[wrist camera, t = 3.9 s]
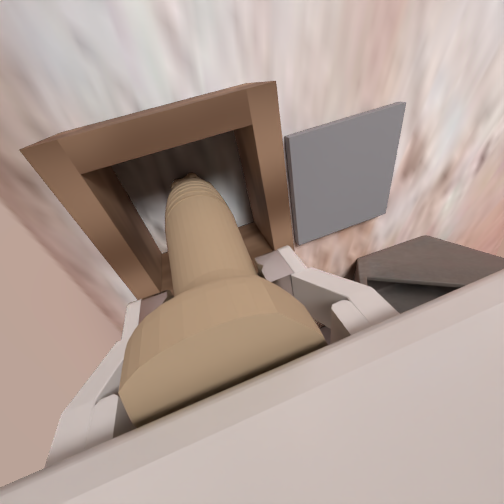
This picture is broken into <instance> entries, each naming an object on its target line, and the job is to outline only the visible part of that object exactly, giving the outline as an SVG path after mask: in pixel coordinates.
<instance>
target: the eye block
mask: <svg viewBox="0 0 504 504" xmlns="http://www.w3.org/2000/svg"><path fill="white" fill-rule="evenodd" d="M232 130H233V131H234V135H235V139H236V144H237V148H238V153H239V157H240V162H241V166H242V170H243V175H244V179H245V184H246V188H247V193H248V197H249V201H250V206H251V210H252V215H253V219H254V222H253V223H250V224H247V225H244V226H241V227H238V229H239V231H240V234H241V236H242V239H243V241H244V244H245V246H246V248H247V251H248V253H249V255H250V258H251V260H252V263H253V265H254V267H255V270H256V272H257V273H258V270H257V268H256V266H255V262H254V258H256V257H258V256H261V255H264V254H266V253H269V252H272V251H275V250H277V249H279V248H282V247H284V246H287V245H288V246H290V247H291V248H292V250H293V251H294V243H293V234H292V225H291V215H290V206H289V197H288V188H287V178H286V169H285V160H284V151H283V141H282V132H281V123H280V114H279V104H278V95H277V86H276V81H268V82H256V83H245V84H242V85H238V86H234V87H230V88H227V89H223V90H219V91H215V92H211V93H208V94H204V95H200V96H196V97H193V98H189V99H185V100H181V101H178V102H174V103H170V104H166V105H163V106H159V107H155V108H151V109H147V110H144V111H140V112H136V113H132V114H129V115H125V116H121V117H117V118H114V119H110V120H106V121H102V122H99V123H95V124H91V125H87V126H83V127H80V128H76V129H72V130H68V131H65V132H61V133H59V134H56V135H54V136H51V137H49V138H46V139H44V140H42V141H39V142H37V143H34V144H32V145H30V146H27V147H25V148H22V149H20V152H21V153H22V154H23V155H24V157H25V158H26V159H27V160H28V162H29V163H30V164H31V166H32V167H33V168H34V169H35V171H36V172H37V173H38V174H39V176H40V177H41V178H42V179H43V181H44V182H45V183H46V184H47V186H48V187H49V188H50V190H51V191H52V192H53V193H54V195H55V196H56V197H57V198H58V200H59V201H60V202H61V203H62V205H63V206H64V207H65V208H66V210H67V211H68V212H69V214H70V215H71V216H72V217H73V219H74V220H75V221H76V222H77V224H78V225H79V226H80V227H81V229H82V230H83V231H84V233H85V234H86V235H87V236H88V238H89V239H90V240H91V241H92V243H93V244H94V245H95V246H96V248H97V249H98V250H99V251H100V253H101V254H102V255H103V257H104V258H105V259H106V260H107V262H108V263H109V264H110V265H111V267H112V268H113V269H114V270H115V272H116V273H117V274H118V275H119V277H120V278H121V279H122V281H123V282H124V283H125V284H126V286H127V287H128V288H129V289H130V291H131V292H132V293H133V294H134V296H135V297H136V298H137V299H138V300H140V299H143V298H145V297H148V296H151V295H154V294H157V293H159V292H162V291H165V290H170V291H171V292H172V294H173V295H174V291H173V283H172V276H171V268H170V261H169V254H168V252H166V253H163V254H162V253H161V252H160V250H159V248H158V246H157V245H156V243H155V241H154V239H153V238H152V236H151V234H150V233H149V231H148V229H147V227H146V226H145V224H144V222H143V220H142V219H141V217H140V215H139V214H138V212H137V210H136V208H135V207H134V205H133V203H132V201H131V200H130V198H129V196H128V195H127V193H126V191H125V189H124V188H123V186H122V184H121V182H120V181H119V179H118V177H117V175H116V174H115V172H114V170H113V169H112V167H111V165H114V164H118V163H121V162H125V161H128V160H132V159H135V158H139V157H142V156H145V155H149V154H152V153H156V152H159V151H163V150H166V149H170V148H173V147H177V146H180V145H183V144H187V143H190V142H194V141H197V140H201V139H204V138H208V137H211V136H215V135H218V134H221V133H225V132H228V131H232Z"/></svg>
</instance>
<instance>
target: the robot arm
mask: <svg viewBox="0 0 504 504" xmlns="http://www.w3.org/2000/svg"><path fill="white" fill-rule="evenodd" d="M254 262H255V266H256V268H257V270H258V273H257V274H258V276H260V277H262V278H264V279H266V280H268V281H270V282H272V283H274V284H276V285H278V286H279V287H281V288H282V289H284V290H285V291H287V292H288V293H290V294H291V295H292V296H293V297H295V298H296V299H297V300H298V301H299V302H301V303H302V304H303V305H304V306H305V307H306V309H307V310H308V312H309V313H310V315H311V317H312V318H313V319H315V320H316V321H318V322H320V323H321V324H323V325H325V326H326V327H328V328H330V329H331V338H330V345H327V346H325V347H323V348H320V349H318V350H316V351H314V352H311V353H309V354H307V355H304V356H302V357H300V358H297V359H295V360H293V361H290V362H288V363H286V364H284V365H281V366H279V367H277V368H274V369H272V370H270V371H267V372H265V373H263V374H260V375H258V376H256V377H254V378H251V379H249V380H247V381H244V382H242V383H240V384H238V385H235V386H233V387H231V388H228V389H226V390H224V391H221V392H219V393H217V394H215V395H212V396H210V397H208V398H205V399H203V400H201V401H198V402H196V403H194V404H192V405H189V406H187V407H185V408H182V409H180V410H178V411H175V412H173V413H171V414H169V415H166V416H164V417H162V418H159V419H157V420H155V421H152V422H150V423H148V424H145V425H143V426H141V427H139V428H136V427H135V426H134V425H133V424H132V422H131V420H130V418H129V416H128V414H127V412H126V410H125V407H124V405H123V403H122V400H121V398H120V396H119V393H118V392H119V385H120V379H121V372H122V366H123V360H124V354H125V349H126V345H127V342H128V340H129V338H130V337H131V335H132V333H133V332H134V330H135V328H136V327H137V326H138V325H139V324H140V323H141V321H142V320H143V319H144V318H145V317H146V316H147V315H148V314H150V313H151V312H152V311H154V310H155V309H156V308H158V307H159V306H160V305H161V304H163V303H165V302H167V301H168V300H170V299H172V298H174V295H173V294H172V292H171V291H170V290H165V291H162V292H159V293H157V294H154V295H151V296H148V297H145V298H143V299H140V300H137V301H134V302H131V303H129V304H128V305H127V309H126V315H125V320H124V326H123V332H122V338H121V340H120V341H117V342H116V343H115V345H114V346H113V347H112V349H111V350H110V351H109V353H108V354H107V355H106V357H105V358H104V359H103V360H102V362H101V363H100V365H99V366H98V367H97V368H96V370H95V371H94V372H93V374H92V375H91V376H90V378H89V379H88V380H87V382H86V383H85V384H84V386H83V387H82V388H81V389H80V391H79V392H78V393H77V395H76V396H75V397H74V398H73V400H72V401H71V402H70V404H69V405H68V406H67V408H66V409H65V410H64V412H63V413H62V414H61V417H60V420H59V424H58V427H57V430H56V433H55V436H54V439H53V442H52V446H51V449H50V452H49V455H48V458H47V461H46V465H45V468H44V469H42V470H39V471H37V472H35V473H33V474H30V475H28V476H26V477H24V478H21V479H19V480H17V481H14V482H12V483H10V484H7V485H5V486H3V487H0V504H504V269H502V270H500V271H498V272H496V273H493V274H491V275H489V276H486V277H484V278H482V279H479V280H477V281H475V282H473V283H470V284H468V285H466V286H463V287H461V288H459V289H456V290H454V291H452V292H449V293H447V294H445V295H443V296H440V297H438V298H436V299H433V300H431V301H429V302H426V303H424V304H422V305H420V306H417V307H415V308H413V309H410V310H408V311H406V312H403V313H401V314H400V313H399V312H397V311H396V310H395V309H394V308H393V307H392V306H391V305H390V304H389V303H388V302H387V301H386V300H385V299H384V298H383V297H382V296H381V295H380V294H378V293H377V292H376V291H375V290H374V289H373V288H372V287H370V286H367V285H364V284H361V283H358V282H355V281H352V280H349V279H346V278H343V277H340V276H337V275H334V274H331V273H328V272H325V271H322V270H319V269H316V268H313V267H310V268H307V267H306V265H305V264H304V263H303V262H302V261H301V259H300V258H299V257H298V256H297V254H296V253H295V252H294V251H293V250H292V248H291V247H290V246H288V245H287V246H284V247H282V248H279V249H277V250H275V251H272V252H269V253H266V254H264V255H261V256H258V257H256V258H254Z"/></svg>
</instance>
